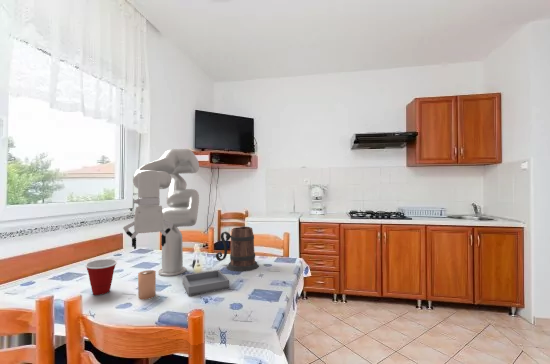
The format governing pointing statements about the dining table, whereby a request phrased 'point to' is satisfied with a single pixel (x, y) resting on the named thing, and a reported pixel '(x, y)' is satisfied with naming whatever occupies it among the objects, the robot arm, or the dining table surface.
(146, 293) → the tan cylinder
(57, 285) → the dining table surface
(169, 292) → the dining table surface
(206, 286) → the tray
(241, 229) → the tankard
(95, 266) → the plastic cup
